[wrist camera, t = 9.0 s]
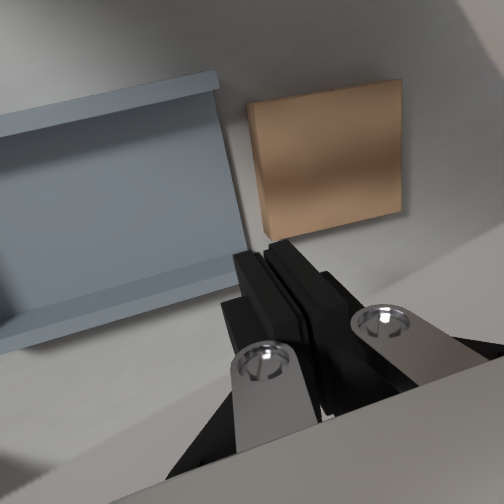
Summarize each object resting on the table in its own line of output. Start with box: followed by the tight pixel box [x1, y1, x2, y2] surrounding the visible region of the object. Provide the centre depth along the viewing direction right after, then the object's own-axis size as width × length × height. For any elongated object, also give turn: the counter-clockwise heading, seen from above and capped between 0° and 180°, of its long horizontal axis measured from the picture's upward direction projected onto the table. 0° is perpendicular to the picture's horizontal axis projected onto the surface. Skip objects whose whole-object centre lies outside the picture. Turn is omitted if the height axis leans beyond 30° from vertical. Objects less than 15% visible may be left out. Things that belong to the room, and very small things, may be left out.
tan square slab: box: [246, 79, 402, 241], centre depth 28 cm, size 9×10×2 cm
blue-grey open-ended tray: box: [0, 69, 248, 355], centre depth 25 cm, size 13×19×4 cm
